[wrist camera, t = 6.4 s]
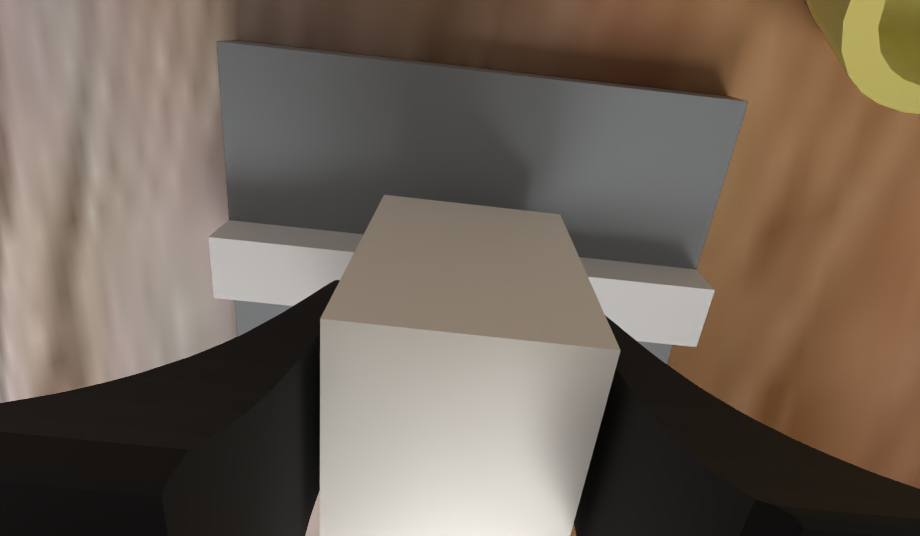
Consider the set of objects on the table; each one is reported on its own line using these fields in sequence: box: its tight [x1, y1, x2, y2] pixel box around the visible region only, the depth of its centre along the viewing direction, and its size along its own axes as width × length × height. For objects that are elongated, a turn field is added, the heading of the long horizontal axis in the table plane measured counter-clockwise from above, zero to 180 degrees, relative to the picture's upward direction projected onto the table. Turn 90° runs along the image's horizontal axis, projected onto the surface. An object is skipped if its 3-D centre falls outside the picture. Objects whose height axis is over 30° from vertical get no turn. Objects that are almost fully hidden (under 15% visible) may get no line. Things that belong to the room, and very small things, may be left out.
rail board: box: [208, 40, 748, 364], centre depth 14 cm, size 12×10×2 cm
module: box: [320, 195, 621, 536], centre depth 11 cm, size 4×5×6 cm
